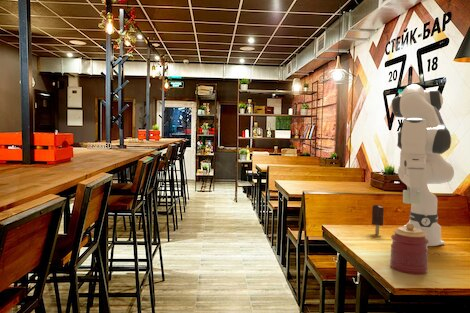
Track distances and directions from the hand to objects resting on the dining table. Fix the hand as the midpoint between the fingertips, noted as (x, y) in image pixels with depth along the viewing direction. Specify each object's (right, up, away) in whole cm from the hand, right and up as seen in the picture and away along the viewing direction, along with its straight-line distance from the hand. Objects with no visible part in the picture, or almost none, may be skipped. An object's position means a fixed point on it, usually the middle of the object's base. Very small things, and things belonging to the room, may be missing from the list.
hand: (411, 198), depth 144 cm
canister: (0, -27, +2) cm, 27 cm away
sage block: (0, -2, 0) cm, 2 cm away
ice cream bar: (+7, -24, +53) cm, 58 cm away
